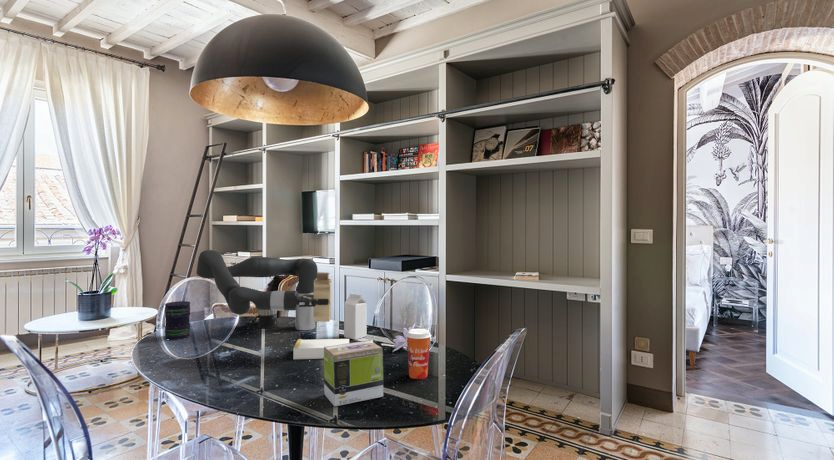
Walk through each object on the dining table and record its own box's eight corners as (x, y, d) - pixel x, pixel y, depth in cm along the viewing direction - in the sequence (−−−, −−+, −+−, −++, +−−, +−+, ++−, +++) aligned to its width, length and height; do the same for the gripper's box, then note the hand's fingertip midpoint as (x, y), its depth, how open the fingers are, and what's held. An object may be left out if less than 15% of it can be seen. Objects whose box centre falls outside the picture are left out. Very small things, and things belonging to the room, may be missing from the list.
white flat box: (298, 349, 175) (298, 339, 175) (349, 348, 177) (349, 338, 177) (293, 359, 163) (293, 347, 163) (348, 357, 165) (348, 346, 165)
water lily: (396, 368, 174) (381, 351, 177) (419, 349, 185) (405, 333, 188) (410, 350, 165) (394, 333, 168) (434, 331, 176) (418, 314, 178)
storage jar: (162, 337, 193) (162, 302, 193) (186, 333, 199) (186, 300, 199) (168, 341, 185) (167, 306, 185) (193, 337, 192) (193, 303, 192)
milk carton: (355, 340, 190) (355, 296, 190) (343, 337, 195) (344, 294, 194) (366, 336, 196) (366, 294, 196) (355, 334, 200) (355, 292, 200)
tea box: (370, 386, 137) (370, 339, 137) (383, 397, 128) (384, 347, 128) (323, 395, 130) (323, 345, 130) (333, 407, 121) (333, 354, 121)
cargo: (318, 282, 171) (318, 272, 171) (328, 282, 172) (328, 272, 172) (316, 284, 167) (317, 273, 167) (327, 284, 168) (327, 273, 168)
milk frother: (274, 328, 209) (274, 297, 209) (240, 328, 209) (240, 297, 208) (282, 322, 223) (282, 292, 223) (251, 322, 223) (251, 292, 223)
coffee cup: (403, 379, 143) (404, 333, 143) (407, 371, 151) (408, 327, 151) (429, 381, 142) (430, 334, 141) (432, 372, 150) (432, 328, 150)
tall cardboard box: (315, 318, 172) (315, 278, 172) (330, 318, 173) (331, 278, 173) (313, 321, 167) (313, 280, 166) (329, 321, 167) (330, 280, 167)
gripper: (280, 293, 161) (327, 293, 163) (287, 287, 175) (330, 287, 177) (280, 314, 161) (327, 313, 163) (287, 306, 175) (330, 306, 177)
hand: (328, 300), depth 170 cm, fingers closed on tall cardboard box, 6 cm apart
